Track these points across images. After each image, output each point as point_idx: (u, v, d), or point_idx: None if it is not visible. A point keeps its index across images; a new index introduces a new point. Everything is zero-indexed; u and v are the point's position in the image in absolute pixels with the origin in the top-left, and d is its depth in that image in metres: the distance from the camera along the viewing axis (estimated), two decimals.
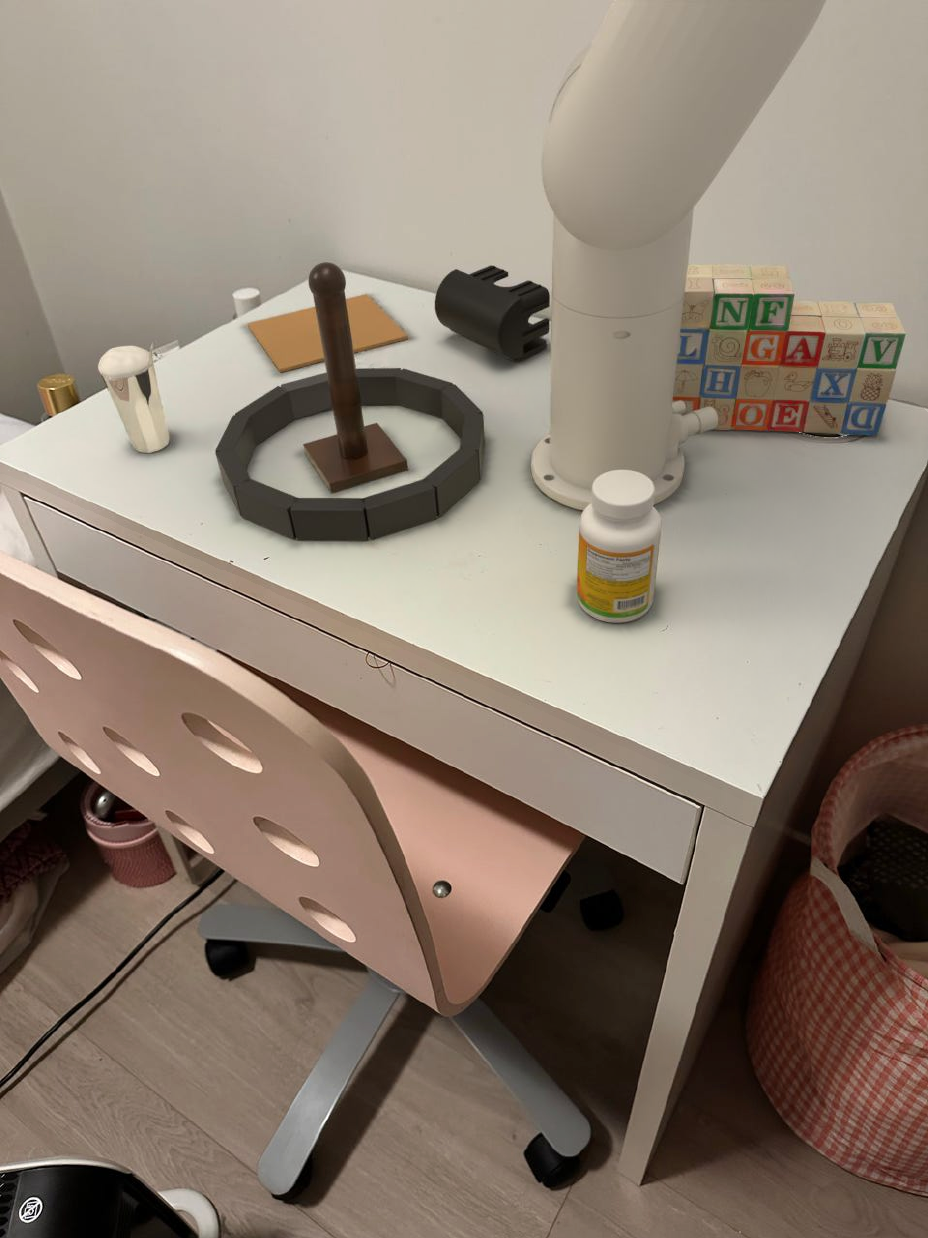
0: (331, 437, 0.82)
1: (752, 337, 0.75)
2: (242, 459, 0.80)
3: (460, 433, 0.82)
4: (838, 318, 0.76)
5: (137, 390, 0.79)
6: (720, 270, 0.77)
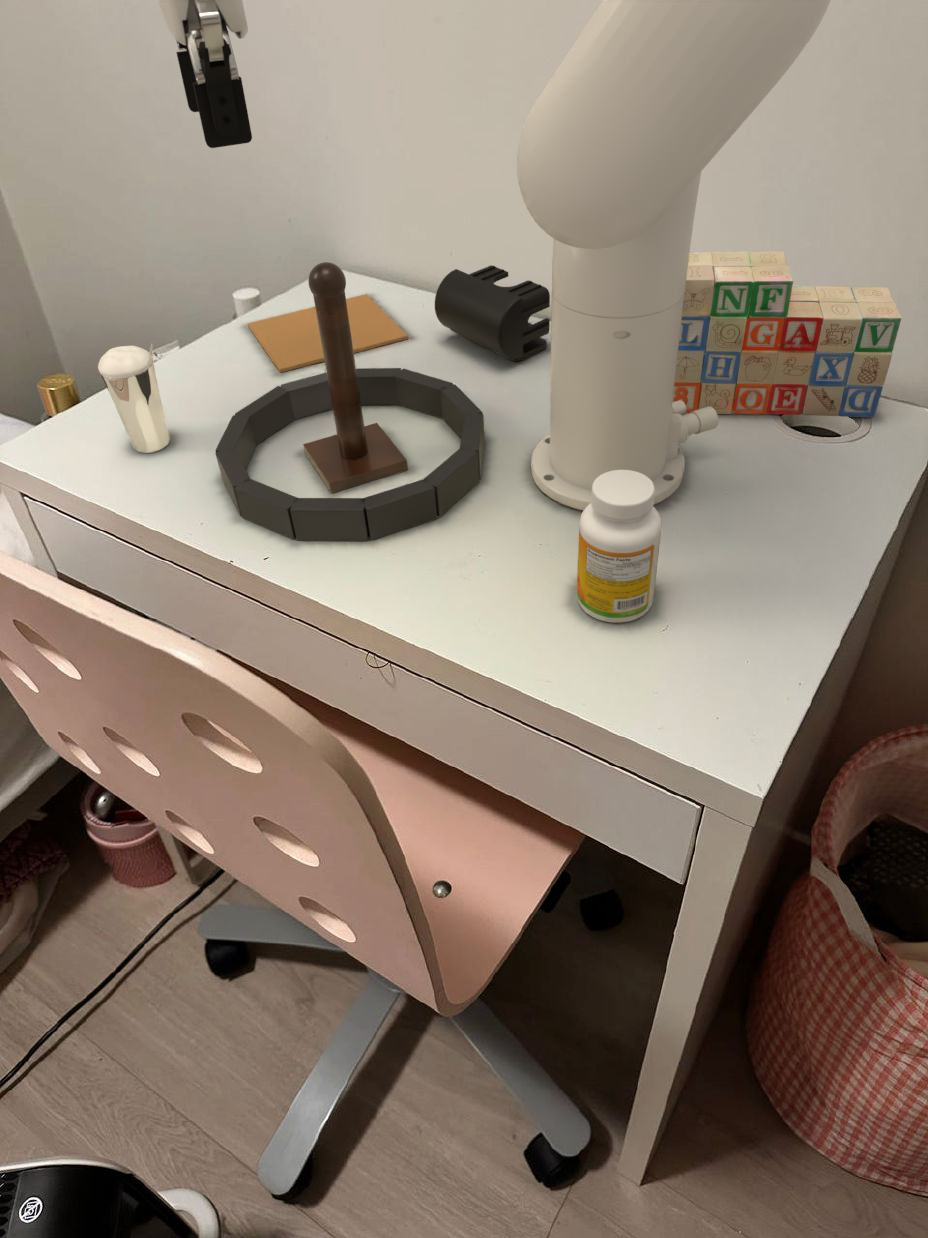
0: (331, 437, 0.82)
1: (752, 323, 0.77)
2: (242, 459, 0.80)
3: (460, 433, 0.82)
4: (835, 303, 0.77)
5: (137, 390, 0.79)
6: (719, 258, 0.78)
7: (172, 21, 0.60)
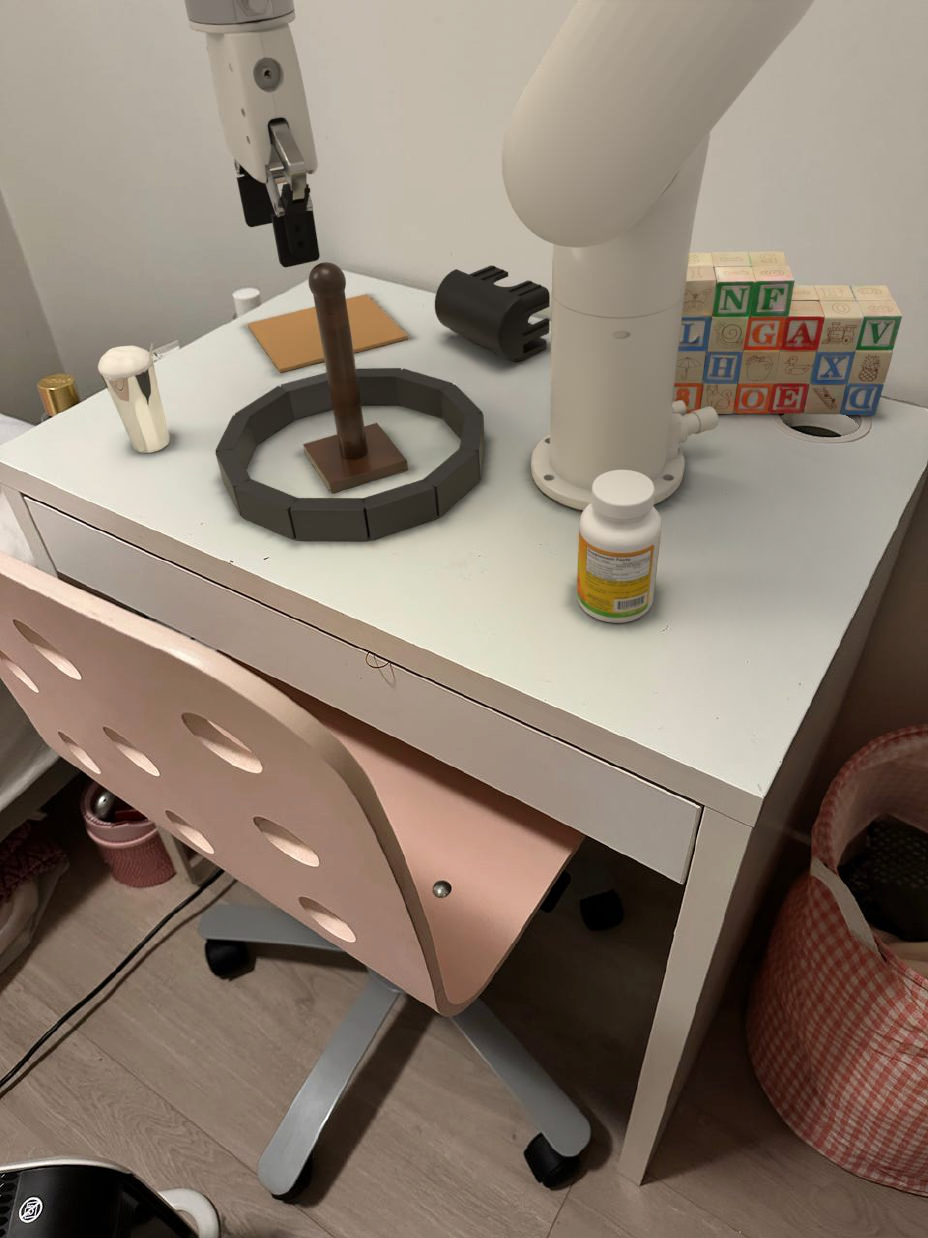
0: (331, 437, 0.82)
1: (753, 323, 0.77)
2: (242, 459, 0.80)
3: (460, 433, 0.82)
4: (836, 302, 0.78)
5: (137, 390, 0.79)
6: (719, 258, 0.78)
7: (255, 165, 0.68)
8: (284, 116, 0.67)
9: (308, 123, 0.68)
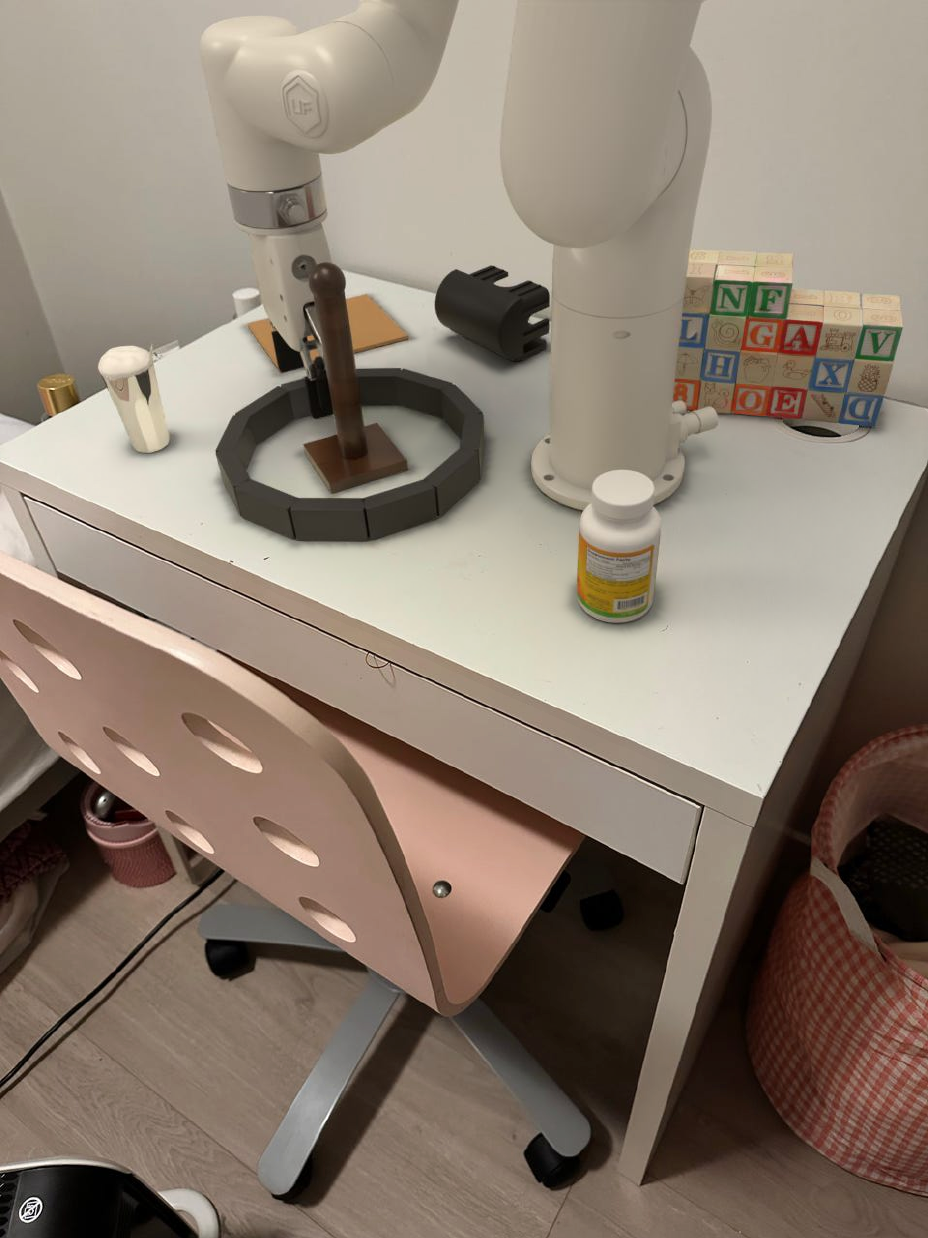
0: (331, 437, 0.82)
1: (751, 323, 0.77)
2: (242, 459, 0.80)
3: (460, 433, 0.82)
4: (839, 308, 0.77)
5: (137, 390, 0.79)
6: (726, 257, 0.78)
7: (291, 339, 0.78)
8: None
9: None
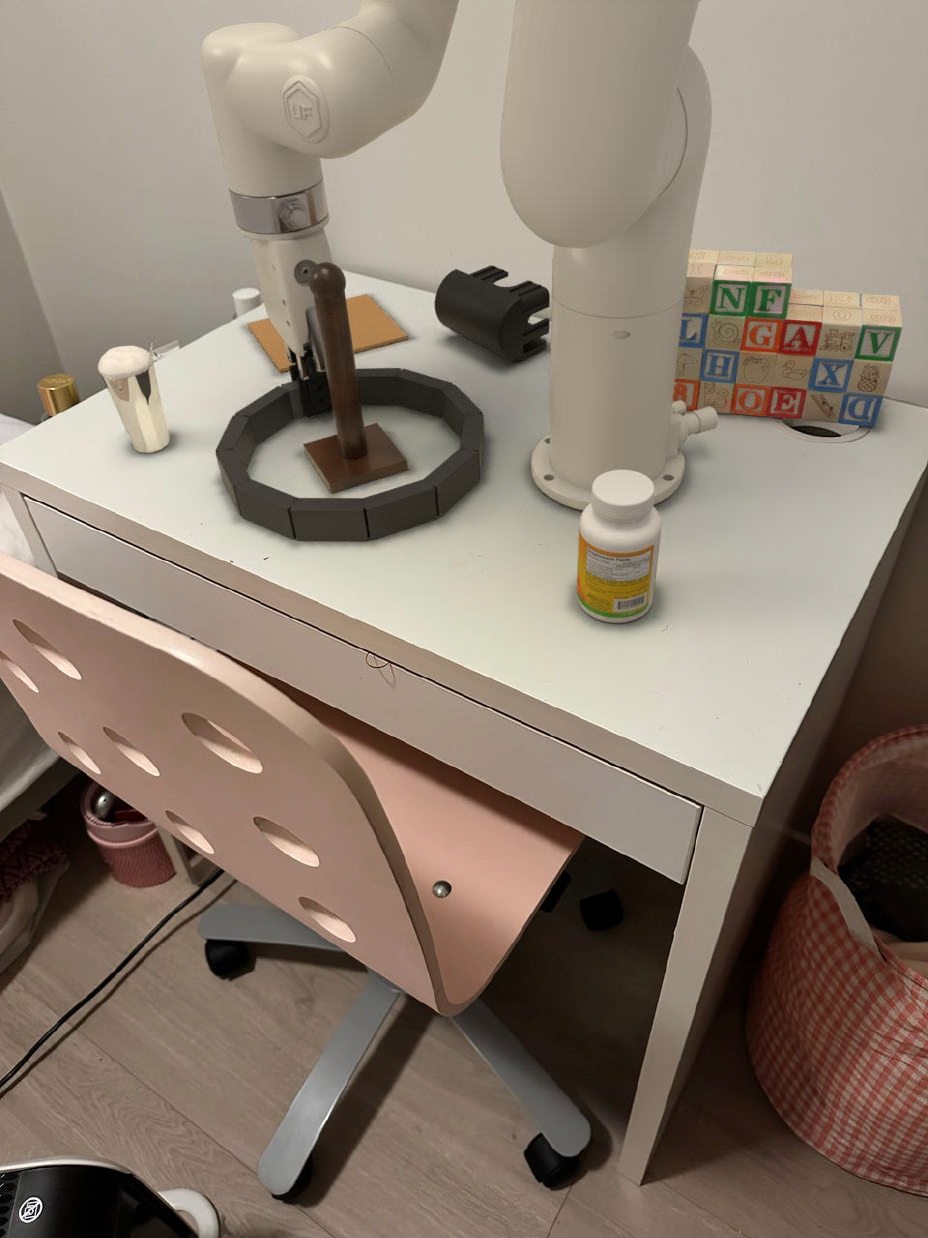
0: (331, 437, 0.82)
1: (751, 324, 0.77)
2: (242, 459, 0.80)
3: (460, 433, 0.82)
4: (839, 308, 0.77)
5: (137, 390, 0.79)
6: (725, 257, 0.78)
7: (294, 344, 0.78)
8: None
9: None
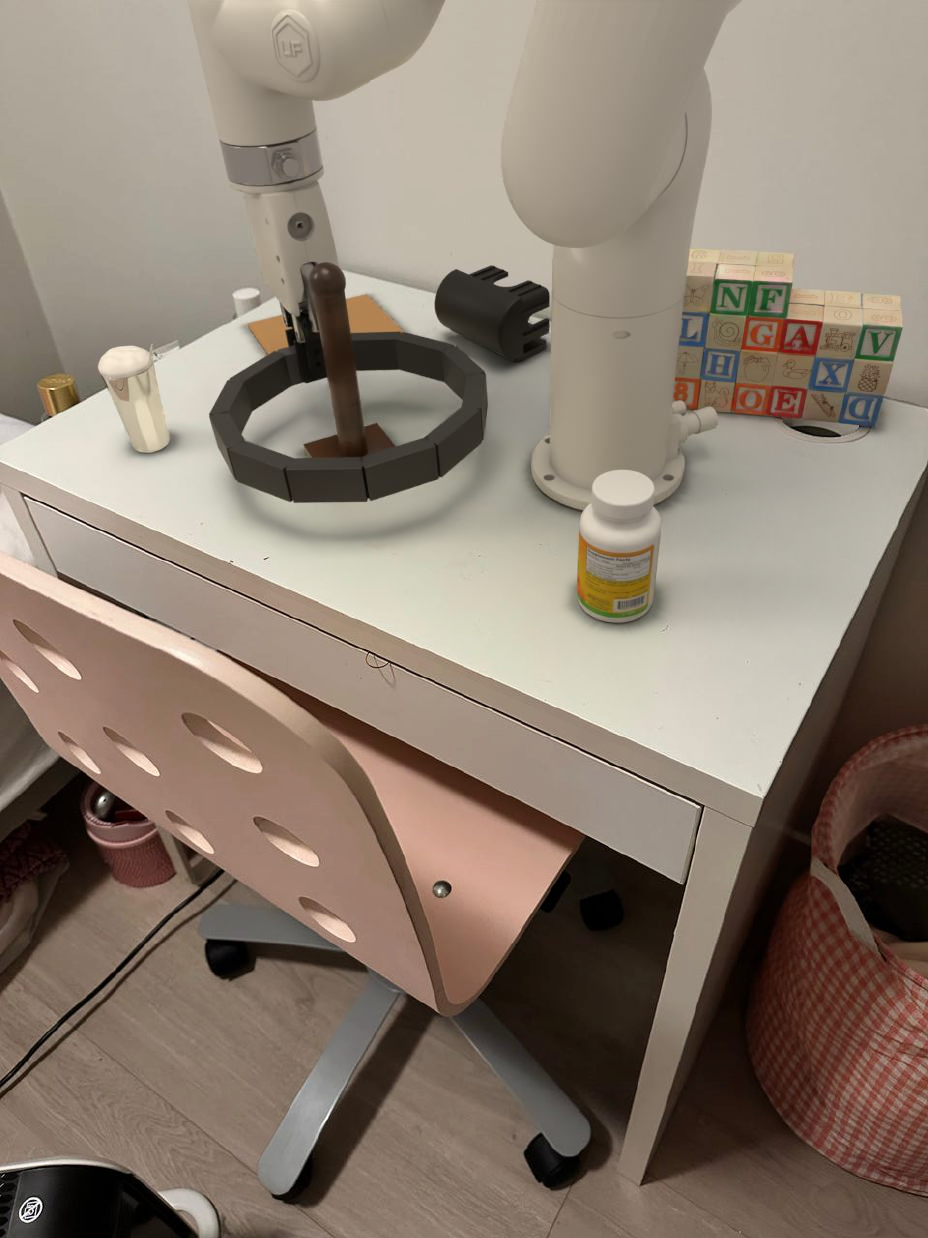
0: (331, 437, 0.82)
1: (751, 323, 0.77)
2: (237, 424, 0.77)
3: (462, 395, 0.79)
4: (840, 308, 0.77)
5: (137, 390, 0.79)
6: (727, 256, 0.79)
7: (289, 302, 0.75)
8: None
9: (336, 264, 0.75)
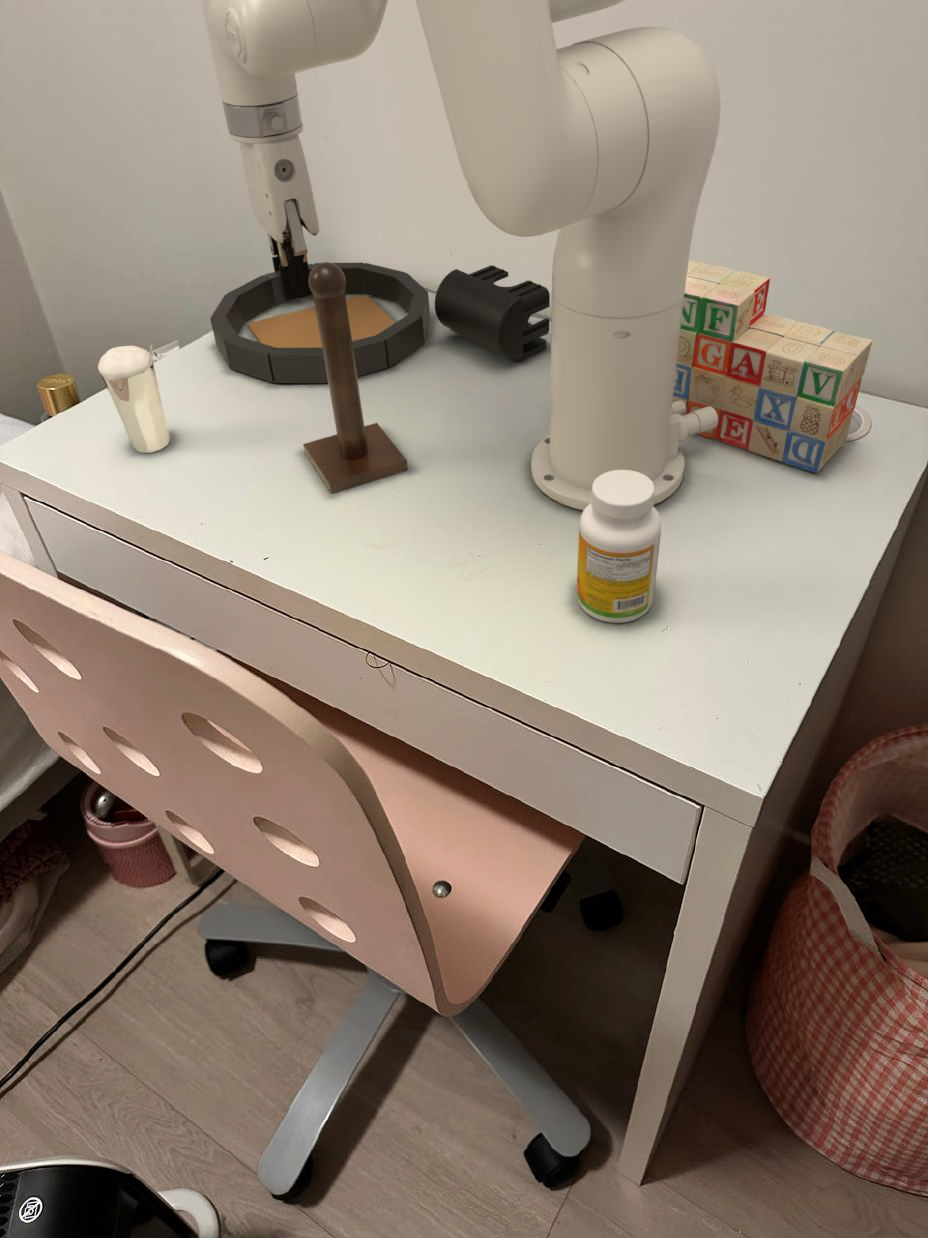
0: (331, 437, 0.82)
1: (702, 341, 0.76)
2: None
3: None
4: (796, 342, 0.73)
5: (137, 390, 0.79)
6: (700, 269, 0.77)
7: (275, 231, 0.96)
8: (297, 208, 0.96)
9: (312, 201, 0.96)
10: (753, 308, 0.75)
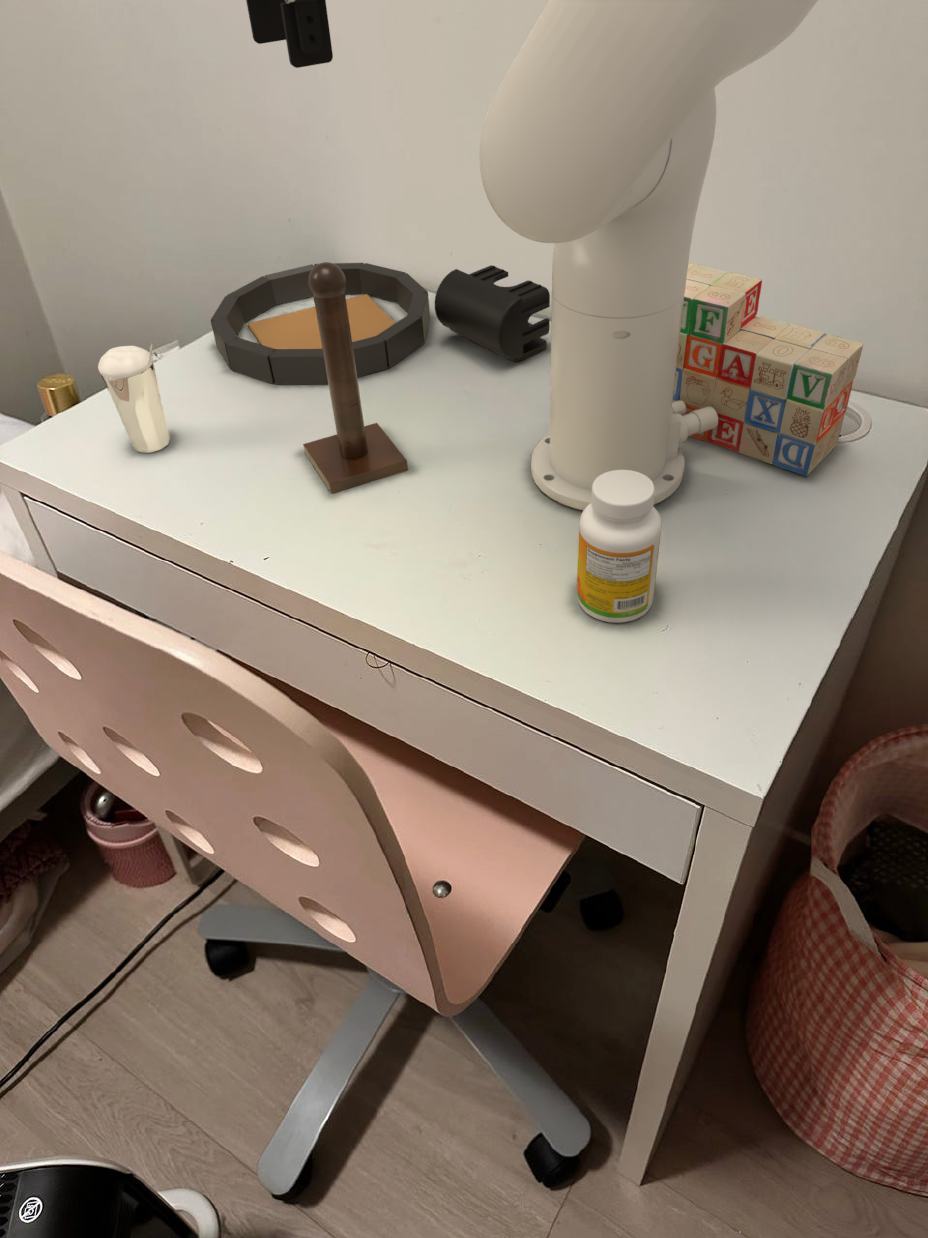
0: (331, 437, 0.82)
1: (693, 342, 0.75)
2: (232, 329, 0.98)
3: None
4: (786, 344, 0.73)
5: (137, 390, 0.79)
6: (692, 271, 0.77)
7: None
8: None
9: None
10: (744, 309, 0.75)
